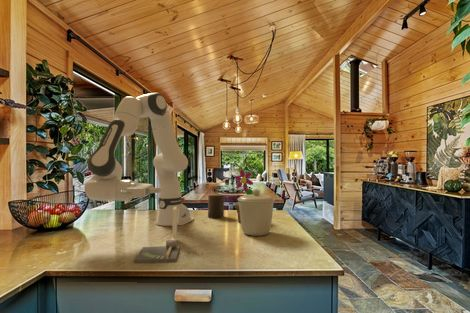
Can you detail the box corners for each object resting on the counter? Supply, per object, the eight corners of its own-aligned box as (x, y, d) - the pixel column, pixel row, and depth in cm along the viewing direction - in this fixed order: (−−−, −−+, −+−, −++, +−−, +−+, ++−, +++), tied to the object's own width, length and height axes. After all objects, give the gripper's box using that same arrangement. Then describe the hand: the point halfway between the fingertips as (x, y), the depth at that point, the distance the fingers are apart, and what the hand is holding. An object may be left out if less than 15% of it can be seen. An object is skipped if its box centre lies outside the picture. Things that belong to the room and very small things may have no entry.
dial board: (143, 249, 106) (143, 246, 106) (179, 248, 108) (179, 245, 108) (133, 262, 93) (133, 259, 93) (175, 261, 94) (175, 258, 94)
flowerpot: (229, 222, 153) (229, 169, 153) (243, 218, 164) (243, 168, 165) (251, 226, 144) (251, 169, 145) (264, 221, 156) (264, 168, 157)
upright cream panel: (171, 236, 120) (171, 206, 121) (180, 235, 121) (180, 206, 121) (161, 256, 95) (161, 219, 95) (173, 256, 95) (173, 219, 95)
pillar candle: (217, 219, 161) (217, 193, 162) (204, 217, 167) (205, 192, 167) (226, 216, 170) (227, 192, 170) (214, 214, 175) (214, 191, 175)
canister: (231, 230, 136) (231, 188, 136) (263, 227, 143) (263, 186, 143) (247, 240, 119) (247, 192, 119) (282, 236, 126) (282, 190, 127)
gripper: (118, 184, 105) (155, 184, 106) (133, 181, 125) (164, 181, 127) (118, 201, 105) (155, 201, 106) (132, 194, 125) (163, 194, 127)
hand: (160, 190), depth 117 cm, fingers closed
